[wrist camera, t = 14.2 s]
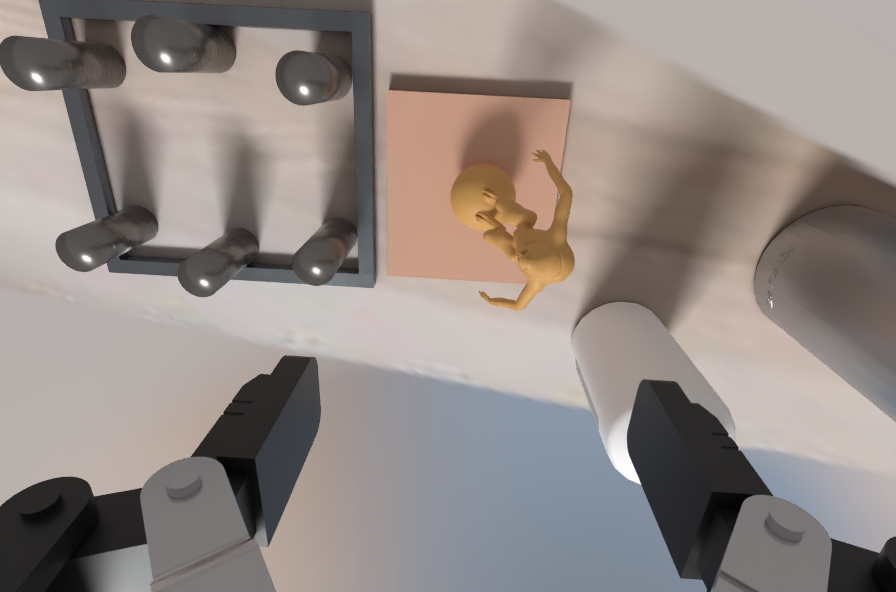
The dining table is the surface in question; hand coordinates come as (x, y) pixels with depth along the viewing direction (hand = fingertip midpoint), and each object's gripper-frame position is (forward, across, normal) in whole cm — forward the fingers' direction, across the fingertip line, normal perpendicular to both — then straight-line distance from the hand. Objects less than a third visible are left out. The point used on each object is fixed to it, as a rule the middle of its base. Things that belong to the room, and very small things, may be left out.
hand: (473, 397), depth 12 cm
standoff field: (+22, +16, -2) cm, 27 cm away
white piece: (+22, -12, +10) cm, 27 cm away
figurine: (+22, -2, 0) cm, 22 cm away
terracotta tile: (+22, 0, 0) cm, 22 cm away
